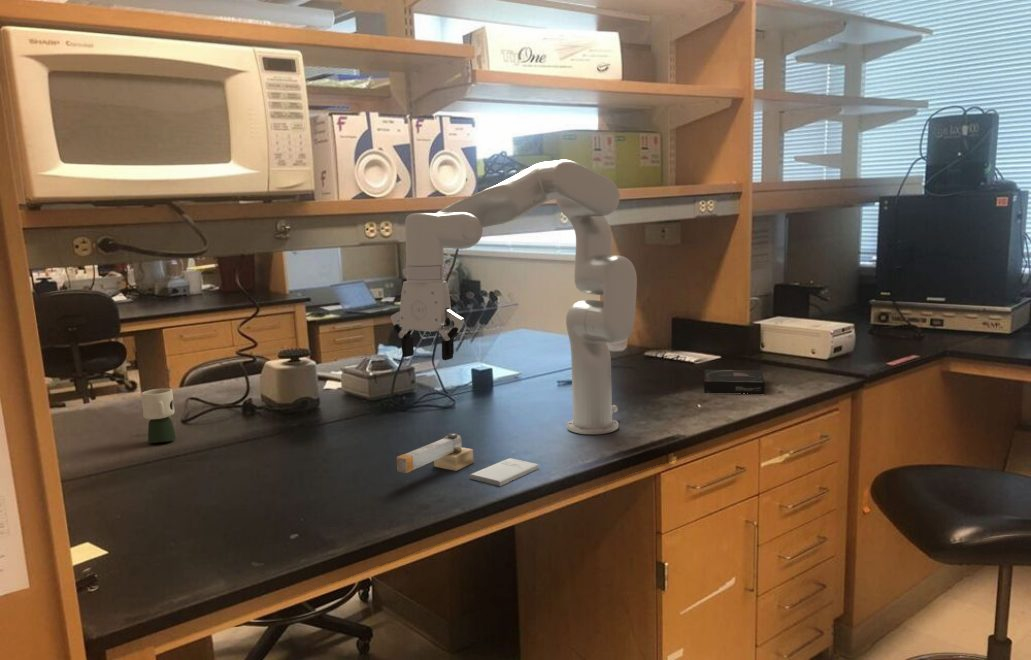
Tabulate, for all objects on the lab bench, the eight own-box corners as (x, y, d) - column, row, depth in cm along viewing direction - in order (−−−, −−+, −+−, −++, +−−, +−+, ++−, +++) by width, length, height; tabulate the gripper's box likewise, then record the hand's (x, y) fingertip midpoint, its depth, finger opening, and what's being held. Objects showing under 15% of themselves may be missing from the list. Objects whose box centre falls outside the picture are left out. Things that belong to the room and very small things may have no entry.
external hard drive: (469, 481, 156) (508, 464, 165) (500, 489, 151) (538, 470, 160) (469, 473, 156) (508, 457, 165) (500, 481, 150) (538, 463, 160)
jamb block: (452, 458, 169) (451, 445, 168) (473, 462, 165) (472, 449, 165) (434, 466, 164) (433, 452, 164) (456, 470, 161) (455, 457, 160)
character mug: (181, 444, 189) (176, 392, 187) (150, 449, 185) (144, 397, 183) (173, 434, 198) (168, 385, 196) (143, 440, 194) (137, 390, 192)
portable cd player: (760, 382, 231) (761, 369, 230) (764, 396, 214) (764, 382, 214) (704, 381, 235) (704, 369, 234) (704, 395, 218) (704, 381, 218)
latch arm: (452, 446, 167) (451, 431, 166) (465, 448, 165) (464, 433, 164) (395, 470, 152) (394, 453, 152) (408, 473, 150) (407, 456, 150)
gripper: (379, 275, 156) (382, 357, 158) (452, 276, 148) (453, 363, 150) (401, 273, 162) (403, 352, 165) (471, 274, 155) (473, 357, 157)
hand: (427, 357), depth 157 cm, fingers open, 9 cm apart
